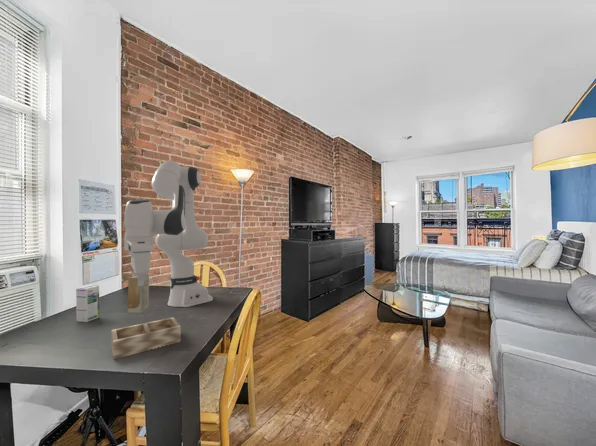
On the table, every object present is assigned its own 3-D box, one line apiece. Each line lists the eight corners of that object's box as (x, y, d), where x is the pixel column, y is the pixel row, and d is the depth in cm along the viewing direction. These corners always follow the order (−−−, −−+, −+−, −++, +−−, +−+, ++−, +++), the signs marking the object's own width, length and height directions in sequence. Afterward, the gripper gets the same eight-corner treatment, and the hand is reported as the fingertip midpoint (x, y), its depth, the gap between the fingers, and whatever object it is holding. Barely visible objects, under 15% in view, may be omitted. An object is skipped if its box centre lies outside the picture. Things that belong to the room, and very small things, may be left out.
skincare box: (137, 307, 95) (137, 274, 95) (149, 307, 95) (149, 274, 96) (126, 313, 89) (127, 277, 89) (139, 312, 89) (140, 277, 89)
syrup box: (87, 322, 110) (87, 288, 110) (75, 321, 111) (75, 287, 111) (99, 317, 115) (99, 285, 115) (89, 316, 117) (89, 284, 117)
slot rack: (173, 331, 101) (173, 317, 101) (180, 341, 92) (180, 326, 92) (111, 345, 89) (111, 329, 89) (113, 359, 80) (113, 341, 80)
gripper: (126, 243, 98) (126, 279, 98) (131, 247, 82) (131, 290, 82) (145, 242, 102) (145, 277, 102) (153, 246, 86) (153, 287, 86)
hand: (139, 283), depth 92 cm, fingers closed on skincare box, 7 cm apart
